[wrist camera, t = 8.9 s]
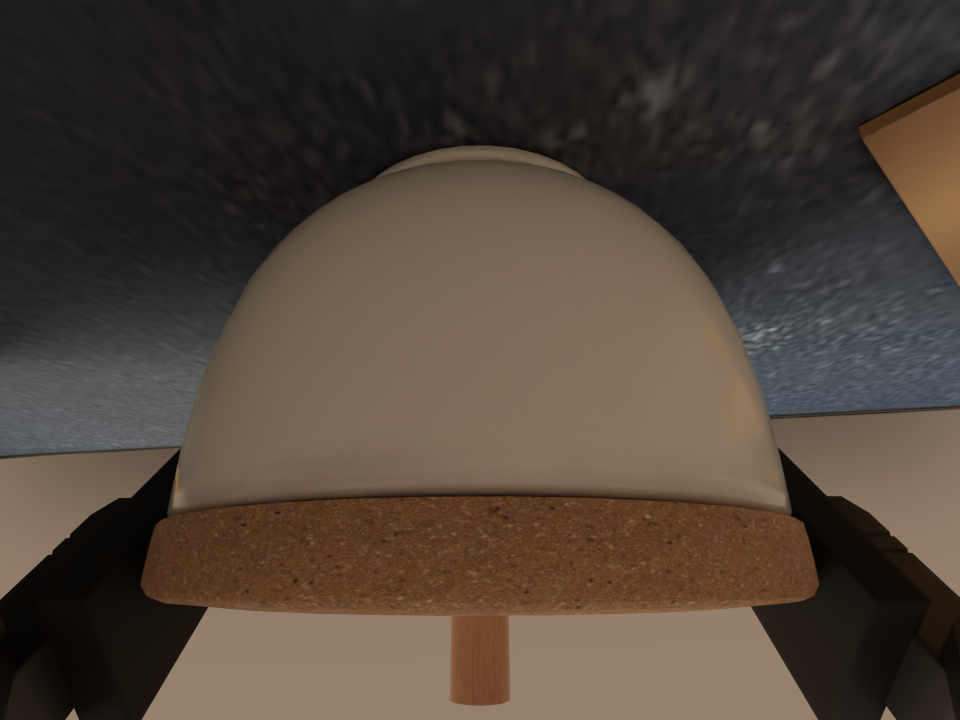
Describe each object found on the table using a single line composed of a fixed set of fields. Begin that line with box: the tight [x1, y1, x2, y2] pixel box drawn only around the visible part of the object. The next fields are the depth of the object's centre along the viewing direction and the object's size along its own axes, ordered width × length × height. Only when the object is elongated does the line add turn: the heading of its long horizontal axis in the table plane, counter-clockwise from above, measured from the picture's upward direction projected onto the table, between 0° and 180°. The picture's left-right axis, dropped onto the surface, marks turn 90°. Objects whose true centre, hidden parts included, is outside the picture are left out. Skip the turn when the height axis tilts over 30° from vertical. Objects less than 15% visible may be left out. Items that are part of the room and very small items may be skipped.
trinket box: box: [140, 146, 819, 706], centre depth 11 cm, size 11×11×9 cm
